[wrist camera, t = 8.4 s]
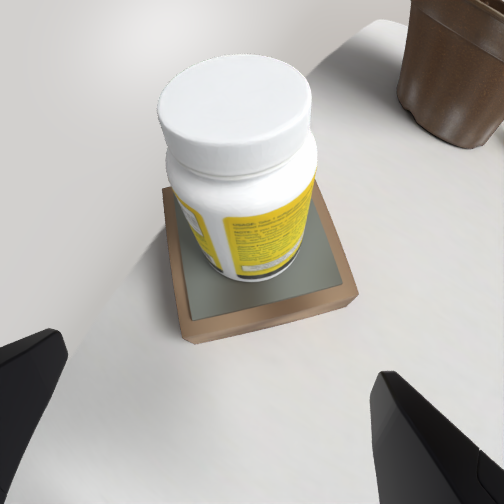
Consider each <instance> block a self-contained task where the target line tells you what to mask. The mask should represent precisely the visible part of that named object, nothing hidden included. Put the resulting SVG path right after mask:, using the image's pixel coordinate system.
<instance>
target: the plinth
mask: <svg viewBox="0 0 504 504" xmlns="http://www.w3.org/2000/svg"><path fill="white" fill-rule="evenodd" d="M162 193H163V204H164V213H165V224H166V232H167V241H168V249H169V257H170V264H171V272H172V279H173V285H174V292H175V298H176V305H177V311H178V317H179V322H180V328H181V334H182V338H183V339H185V340H187V341H189V342H191V343H193V344H199V343H204V342H209V341H213V340H218V339H223V338H227V337H232V336H236V335H241V334H245V333H249V332H253V331H258V330H262V329H266V328H270V327H274V326H278V325H282V324H286V323H290V322H293V321H297V320H301V319H305V318H308V317H312V316H315V315H319V314H323V313H326V312H330V311H333V310H336V309H340V308H343V307H346V306H347V305H348V304H349V303H351V302H352V301H353V300H354V299H355V298H356V297H357V296H358V295H359V293H358V290H357V287H356V284H355V281H354V278H353V275H352V272H351V270H350V267H349V264H348V261H347V258H346V256H345V253H344V250H343V248H342V245H341V242H340V240H339V237H338V234H337V232H336V229H335V227H334V224H333V221H332V219H331V216H330V214H329V211H328V209H327V206H326V204H325V202H324V199H323V197H322V194H321V192H320V189H319V187H318V185H317V182H316V180H314V185H313V189H312V195H311V200H310V205H309V210H308V215H307V220H306V225H305V229H304V234H303V240H302V244H301V247H300V250H299V252H298V254H297V256H296V258H295V259H294V261H293V262H292V263H291V265H290V266H289V267H288V268H287V269H286V270H284V271H283V272H282V273H280V274H279V275H277V276H275V277H273V278H271V279H268V280H264V281H259V282H243V281H238V280H234V279H231V278H228V277H226V276H224V275H222V274H221V273H219V272H218V271H217V270H215V269H214V268H213V267H212V266H211V265H210V263H209V262H208V261H207V259H206V257H205V255H204V254H203V252H202V250H201V248H200V245H199V243H198V241H197V240H196V237H195V235H194V233H193V231H192V229H191V227H190V225H189V223H188V221H187V219H186V217H185V215H184V212H183V210H182V208H181V206H180V204H179V202H178V200H177V198H176V195H175V193H174V191H173V189H172V187H167V188H163V189H162Z"/></svg>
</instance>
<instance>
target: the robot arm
mask: <svg viewBox="0 0 504 504" xmlns="http://www.w3.org/2000/svg"><path fill="white" fill-rule="evenodd" d="M67 358H68V351H67V349H66V346H65V343H64V340H63V337H62V334H61V333H60V332H59V331H58V330H54V329H50V328H48V329H45V330H43V331H40V332H38V333H35V334H33V335H30V336H28V337H25V338H23V339H20V340H18V341H15V342H13V343H10V344H8V345H5V346H3V347H0V504H4V502H5V499H6V497H7V493H8V491H9V488H10V486H11V483H12V480H13V478H14V476H15V473H16V471H17V468H18V466H19V464H20V461H21V459H22V457H23V454H24V452H25V450H26V448H27V446H28V443H29V441H30V439H31V437H32V435H33V433H34V431H35V429H36V427H37V424H38V422H39V420H40V418H41V416H42V414H43V412H44V410H45V409H46V407H47V405H48V403H49V401H50V399H51V397H52V394H53V392H54V390H55V387H56V385H57V382H58V380H59V377H60V375H61V373H62V370H63V368H64V366H65V364H66V361H67ZM370 412H371V430H372V449H373V457H374V464H375V470H376V477H377V485H378V493H379V501H380V504H504V470H503V469H502V468H501V467H500V466H499V465H497V464H496V463H495V462H494V461H493V460H492V459H491V458H489V457H488V456H487V455H486V454H485V453H484V452H483V451H482V450H479V447H477V446H476V445H475V444H474V443H473V442H472V441H471V440H470V439H469V438H468V437H467V436H466V435H465V434H463V433H462V432H461V431H460V430H459V429H458V428H457V427H456V426H455V425H454V424H453V423H451V422H450V421H449V420H448V419H447V418H446V417H445V416H444V415H443V414H442V413H441V412H439V411H438V410H437V409H436V408H435V407H434V406H433V405H432V404H431V403H430V402H429V401H427V400H426V399H425V398H424V397H423V396H422V395H421V394H420V393H419V392H418V391H417V390H415V389H414V388H413V387H412V386H411V385H410V384H409V383H408V382H407V381H406V380H404V379H403V378H402V377H401V376H400V375H399V374H398V373H397V372H395V371H381V372H380V373H379V374H378V376H377V378H376V381H375V384H374V386H373V389H372V391H371V394H370Z"/></svg>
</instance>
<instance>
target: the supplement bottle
mask: <svg viewBox="0 0 504 504" xmlns="http://www.w3.org/2000/svg"><path fill="white" fill-rule="evenodd" d="M311 102H312V95H311V89H310V86H309V83H308V82H307V80H306V79H305V77H304V76H303V75H302V74H301V73H300V72H299V71H298V70H297V69H296V68H294V67H293V66H291V65H289V64H288V63H286V62H283V61H281V60H278V59H275V58H272V57H267V56H262V55H254V54H234V55H225V56H219V57H215V58H211V59H208V60H205V61H202V62H199V63H197V64H195V65H192V66H190V67H189V68H187V69H185V70H183V71H182V72H181V73H179V74H178V75H176V76H175V77H174V78H173V79H172V80H171V81H170V82H169V83H168V84H167V85H166V87H165V88H164V89H163V91H162V93H161V95H160V97H159V100H158V105H157V114H158V119H159V122H160V124H161V128H162V131H163V134H164V137H165V141H166V144H167V146H168V148H167V153H166V172H167V176H168V179H169V182H170V184H171V187H172V189H173V191H174V193H175V195H176V198H177V200H178V202H179V204H180V206H181V208H182V210H183V212H184V215H185V217H186V219H187V221H188V223H189V225H190V227H191V229H192V231H193V233H194V235H195V237H196V240H197V241H198V243H199V245H200V248H201V250H202V252H203V254H204V255H205V257H206V259H207V261H208V262H209V263H210V265H211V266H212V267H213V268H214V269H215V270H217V271H218V272H219V273H221V274H222V275H224V276H226V277H228V278H231V279H234V280H238V281H243V282H259V281H264V280H268V279H271V278H273V277H275V276H277V275H279V274H280V273H282V272H283V271H284V270H286V269H287V268H288V267H289V266H290V265H291V263H292V262H293V261H294V259H295V258H296V256H297V254H298V252H299V250H300V247H301V244H302V240H303V234H304V229H305V225H306V220H307V215H308V210H309V205H310V200H311V195H312V189H313V185H314V180H315V174H316V169H317V146H316V142H315V139H314V136H313V134H312V132H311V130H310V118H311Z"/></svg>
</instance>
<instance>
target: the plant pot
mask: <svg viewBox="0 0 504 504" xmlns="http://www.w3.org/2000/svg"><path fill="white" fill-rule="evenodd" d="M397 96H398V99H399V101H400V103H401V105H402V106H403V108H404V109H406V110H409V111H410V112H411V113H412V114H413V116H414V117H415V120H416V122H417V123H418V124H420V125H421V126H422V127H423V128H425V129H426V130H428V131H429V132H430V133H432V134H434V135H435V136H437V137H439V138H441V139H442V140H444V141H446V142H449V143H451V144H453V145H456V146H459V147H463V148H468V149H473V148H475V147H477V146H483V145H484V144H485V143H486V142H487V140H488V139H489V138H490V137H491V135H492V134H493V133H494V132H495V130H496V129H497V128H498V127H499V125H500V124H501V123H502V122H503V120H504V2H503V1H502V0H411V10H410V18H409V26H408V33H407V40H406V45H405V51H404V56H403V62H402V67H401V72H400V78H399V81H398V85H397Z"/></svg>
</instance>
